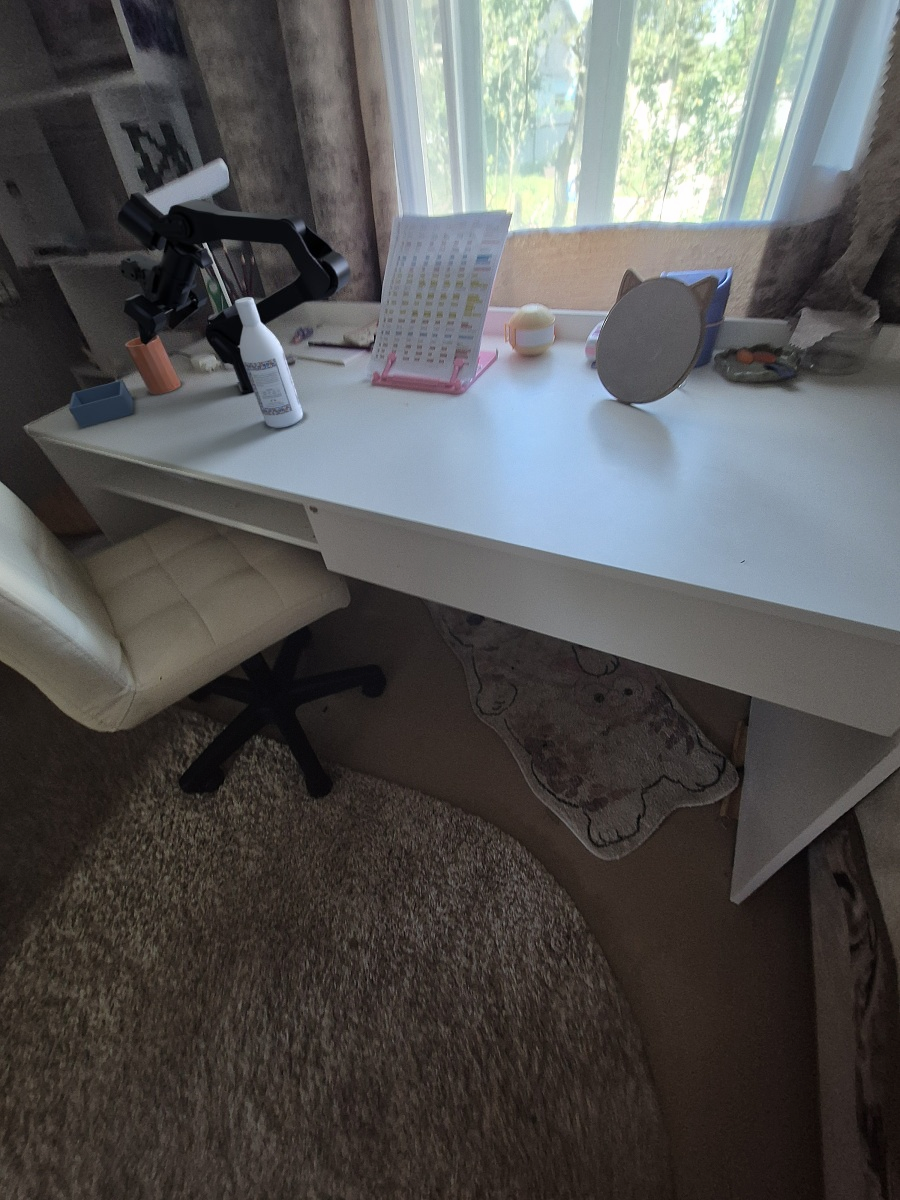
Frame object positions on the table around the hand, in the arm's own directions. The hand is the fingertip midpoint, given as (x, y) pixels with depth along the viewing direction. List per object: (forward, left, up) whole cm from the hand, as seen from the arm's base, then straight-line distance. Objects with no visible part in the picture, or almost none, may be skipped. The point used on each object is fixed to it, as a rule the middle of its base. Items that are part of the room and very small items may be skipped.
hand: (157, 335), depth 108 cm
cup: (+3, +3, -11) cm, 12 cm away
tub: (-3, +15, -11) cm, 19 cm away
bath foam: (-33, -17, -11) cm, 39 cm away
